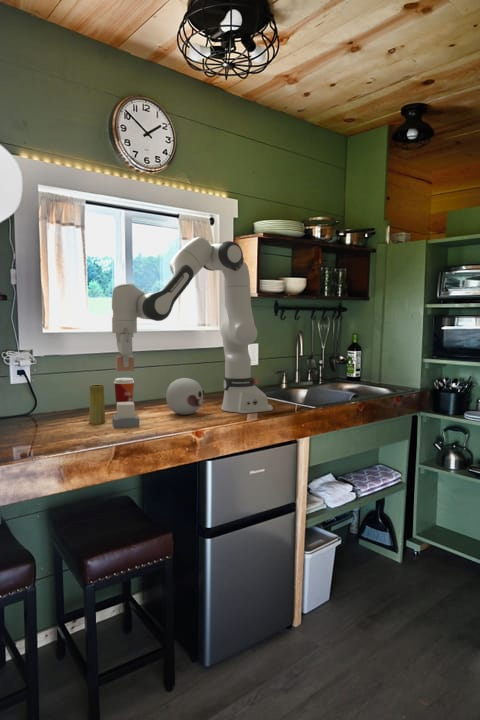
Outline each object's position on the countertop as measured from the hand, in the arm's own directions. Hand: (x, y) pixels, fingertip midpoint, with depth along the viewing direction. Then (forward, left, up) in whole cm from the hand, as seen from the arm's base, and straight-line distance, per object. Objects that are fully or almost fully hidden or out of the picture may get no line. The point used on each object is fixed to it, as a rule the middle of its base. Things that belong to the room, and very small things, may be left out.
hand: (125, 365), depth 183 cm
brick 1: (0, 0, -2) cm, 2 cm away
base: (0, 0, -22) cm, 22 cm away
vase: (+10, -6, -22) cm, 25 cm away
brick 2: (0, 0, -19) cm, 19 cm away
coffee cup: (-1, -16, -22) cm, 28 cm away
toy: (-25, -12, -22) cm, 36 cm away
